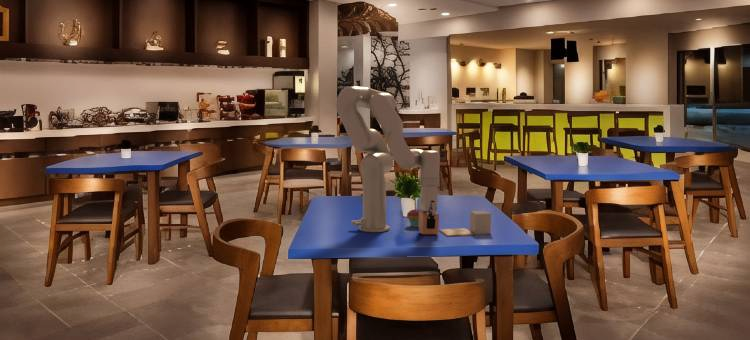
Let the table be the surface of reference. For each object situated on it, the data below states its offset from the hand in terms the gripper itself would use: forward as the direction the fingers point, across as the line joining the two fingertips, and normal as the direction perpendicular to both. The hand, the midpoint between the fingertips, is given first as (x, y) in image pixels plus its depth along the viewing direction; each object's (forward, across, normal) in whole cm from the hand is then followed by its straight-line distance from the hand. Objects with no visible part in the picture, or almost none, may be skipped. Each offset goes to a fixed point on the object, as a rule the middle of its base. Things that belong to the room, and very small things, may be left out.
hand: (428, 226), depth 244 cm
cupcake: (+4, -17, 0) cm, 17 cm away
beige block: (+3, 0, +22) cm, 22 cm away
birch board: (+3, 0, +12) cm, 12 cm away
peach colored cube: (+3, 0, 0) cm, 3 cm away
